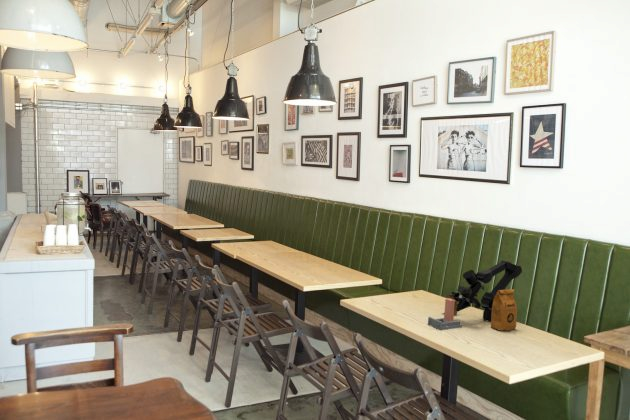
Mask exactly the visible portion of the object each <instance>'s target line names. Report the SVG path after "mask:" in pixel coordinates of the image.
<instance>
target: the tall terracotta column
mask: <svg viewBox="0 0 630 420" xmlns="http://www.w3.org/2000/svg"><path fill="white" fill-rule="evenodd" d="M444 303H445V304H444V312H443V313H444V314H443V315H444V316H443V318H444V319H443V322H444V323H446V322H454V317H455V316H454V304H455V300H453V299H450V298H445V302H444Z"/></svg>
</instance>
